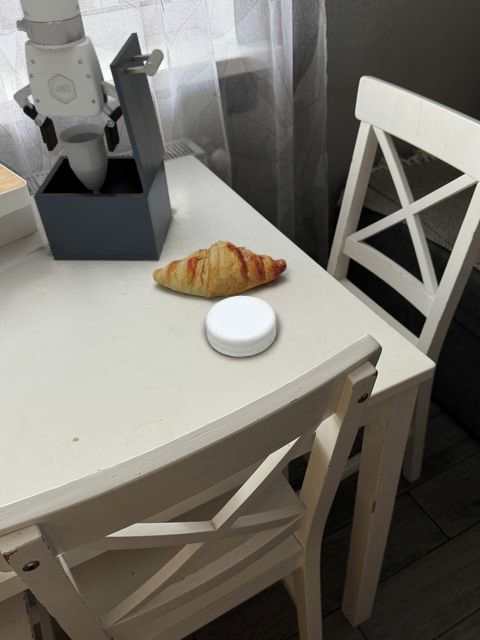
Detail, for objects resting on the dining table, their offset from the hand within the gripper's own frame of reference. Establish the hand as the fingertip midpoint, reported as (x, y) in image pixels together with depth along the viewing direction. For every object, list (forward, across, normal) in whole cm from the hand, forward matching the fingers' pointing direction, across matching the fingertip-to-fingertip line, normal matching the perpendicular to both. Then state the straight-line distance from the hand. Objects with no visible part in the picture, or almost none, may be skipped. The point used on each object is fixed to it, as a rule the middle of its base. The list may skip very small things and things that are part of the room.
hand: (83, 147), depth 94 cm
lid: (-5, +10, 0) cm, 11 cm away
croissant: (+16, +22, -12) cm, 30 cm away
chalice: (+16, +1, 0) cm, 16 cm away
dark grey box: (+17, +2, 0) cm, 17 cm away
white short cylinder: (+16, +27, -25) cm, 40 cm away
